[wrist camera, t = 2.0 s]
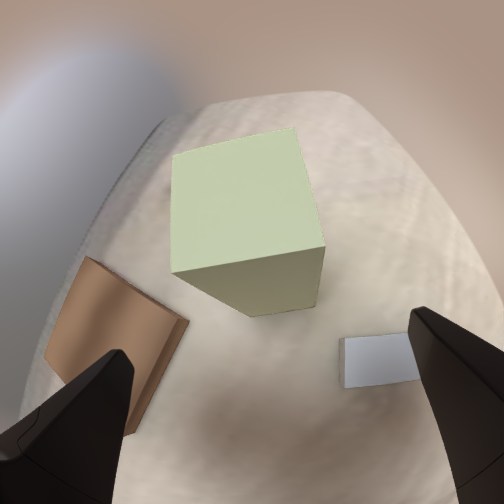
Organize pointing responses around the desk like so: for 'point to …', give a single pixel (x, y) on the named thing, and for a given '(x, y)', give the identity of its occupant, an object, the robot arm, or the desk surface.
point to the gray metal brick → (376, 360)
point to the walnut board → (114, 332)
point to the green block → (247, 223)
